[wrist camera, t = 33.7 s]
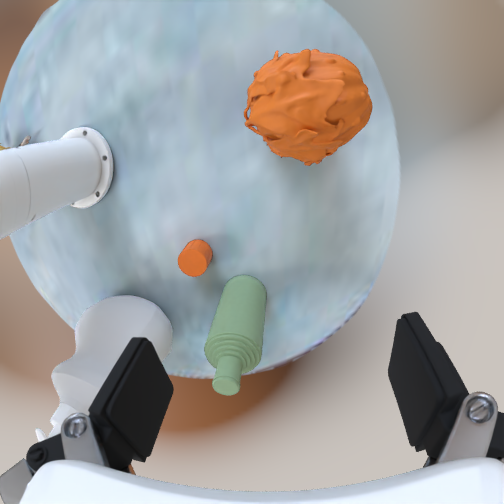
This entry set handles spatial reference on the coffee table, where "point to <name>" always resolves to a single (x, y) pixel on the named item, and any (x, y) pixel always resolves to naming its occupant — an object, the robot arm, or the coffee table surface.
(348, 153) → the coffee table surface
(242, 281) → the bottle
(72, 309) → the coffee table surface
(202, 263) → the cap
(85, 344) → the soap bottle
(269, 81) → the orange sculpture
